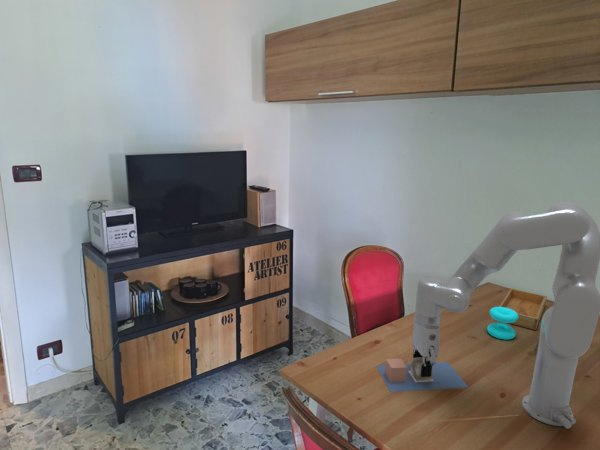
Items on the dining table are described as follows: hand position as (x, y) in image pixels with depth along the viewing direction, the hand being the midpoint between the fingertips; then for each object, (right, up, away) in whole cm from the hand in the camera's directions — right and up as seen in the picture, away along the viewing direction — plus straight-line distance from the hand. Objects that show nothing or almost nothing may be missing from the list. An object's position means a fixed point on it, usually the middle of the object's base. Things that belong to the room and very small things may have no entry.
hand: (421, 369), depth 133 cm
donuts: (+40, +3, +31) cm, 50 cm away
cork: (+49, 0, +18) cm, 53 cm away
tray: (+58, +7, +51) cm, 78 cm away
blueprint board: (0, -3, +1) cm, 3 cm away
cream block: (0, -2, +1) cm, 2 cm away
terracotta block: (-9, -2, -1) cm, 9 cm away
